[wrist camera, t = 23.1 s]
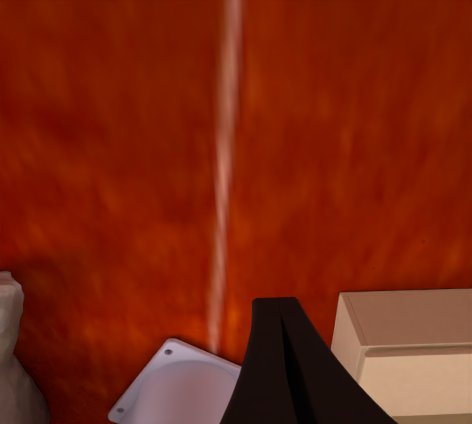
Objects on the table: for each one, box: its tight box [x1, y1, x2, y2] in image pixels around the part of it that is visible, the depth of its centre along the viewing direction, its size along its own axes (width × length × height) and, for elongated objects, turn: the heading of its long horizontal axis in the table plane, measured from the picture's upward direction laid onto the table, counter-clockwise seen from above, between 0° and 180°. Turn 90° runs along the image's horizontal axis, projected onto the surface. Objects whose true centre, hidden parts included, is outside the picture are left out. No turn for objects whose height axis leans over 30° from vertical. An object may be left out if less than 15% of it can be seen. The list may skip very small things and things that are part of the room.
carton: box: [331, 289, 472, 424], centre depth 27 cm, size 11×14×4 cm
